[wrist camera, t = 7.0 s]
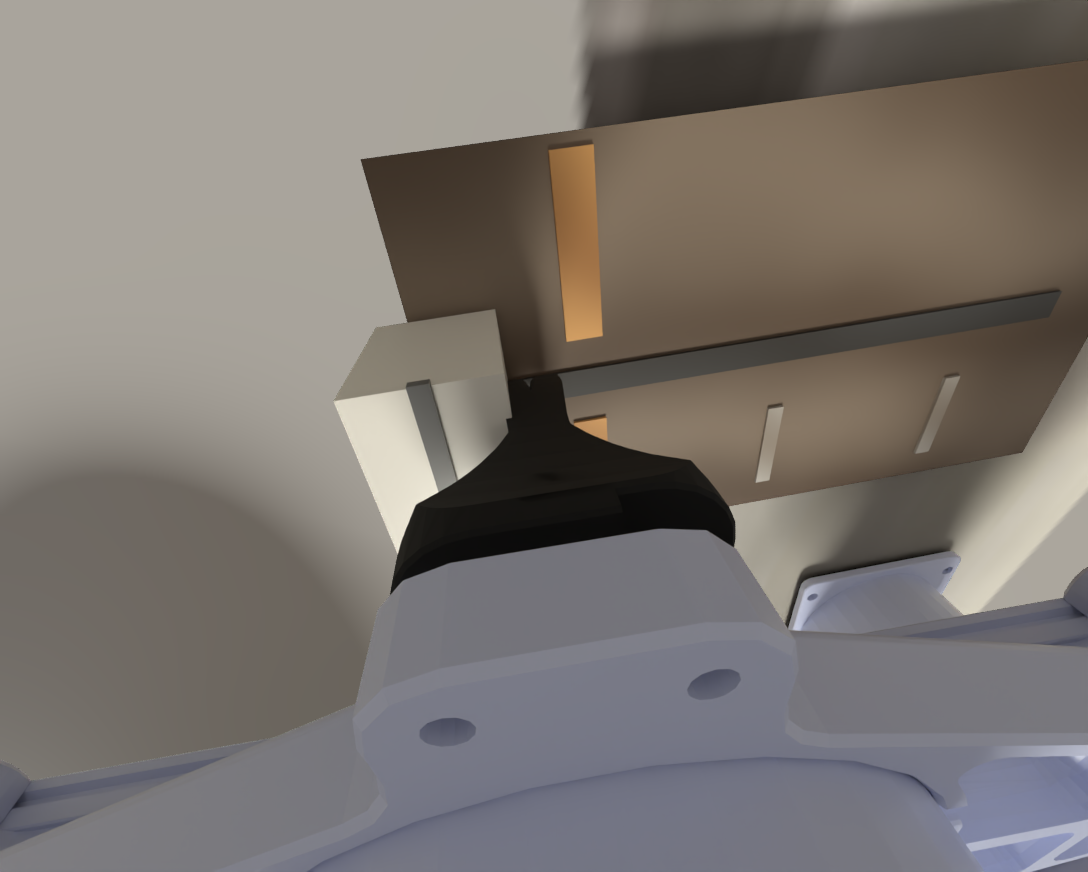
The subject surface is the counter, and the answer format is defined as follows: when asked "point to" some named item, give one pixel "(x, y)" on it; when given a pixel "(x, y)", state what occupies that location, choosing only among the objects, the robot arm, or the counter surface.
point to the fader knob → (425, 408)
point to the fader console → (776, 273)
